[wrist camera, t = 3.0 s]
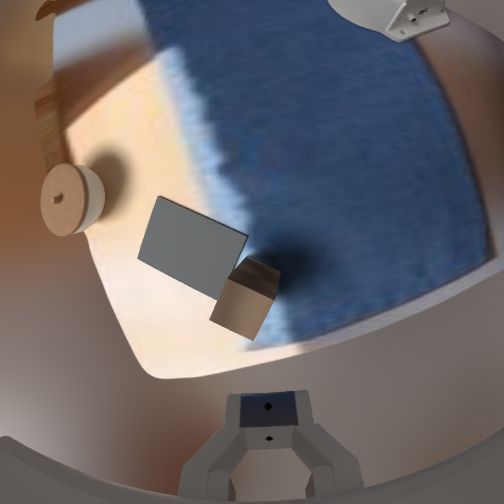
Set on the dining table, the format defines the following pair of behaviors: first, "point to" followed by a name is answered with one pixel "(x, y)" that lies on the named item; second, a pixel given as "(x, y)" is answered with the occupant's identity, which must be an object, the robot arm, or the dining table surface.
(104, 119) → the dining table surface
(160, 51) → the dining table surface
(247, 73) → the dining table surface
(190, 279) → the felt mat
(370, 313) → the dining table surface
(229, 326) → the walnut block
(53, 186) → the lidded jar
